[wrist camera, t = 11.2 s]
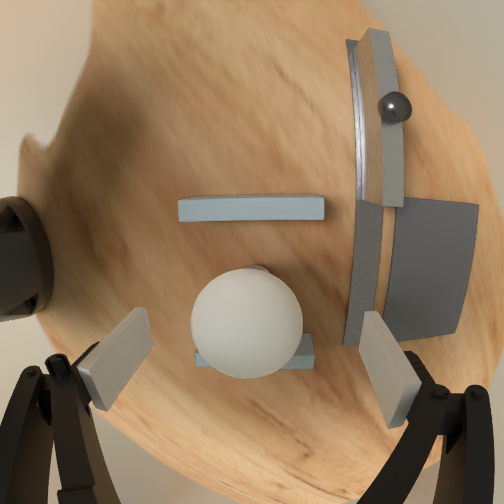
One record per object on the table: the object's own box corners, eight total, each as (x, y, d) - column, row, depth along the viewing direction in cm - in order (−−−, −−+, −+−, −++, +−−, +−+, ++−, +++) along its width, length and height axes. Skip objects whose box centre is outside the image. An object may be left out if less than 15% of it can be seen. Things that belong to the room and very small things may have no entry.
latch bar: (359, 199, 21) (386, 208, 15) (350, 51, 17) (370, 19, 12) (381, 200, 21) (413, 209, 15) (372, 54, 17) (397, 26, 12)
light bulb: (308, 259, 23) (334, 329, 12) (273, 323, 25) (271, 414, 14) (234, 226, 22) (199, 273, 12) (205, 294, 24) (163, 373, 14)
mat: (377, 341, 24) (378, 343, 24) (395, 197, 21) (397, 197, 20) (453, 331, 24) (454, 332, 23) (477, 204, 20) (478, 204, 20)
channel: (205, 344, 26) (196, 366, 22) (191, 196, 22) (177, 200, 19) (309, 346, 25) (313, 368, 22) (316, 194, 21) (324, 197, 18)
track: (342, 344, 25) (343, 345, 25) (345, 40, 17) (346, 39, 17) (365, 343, 25) (366, 344, 24) (371, 44, 17) (372, 43, 17)
